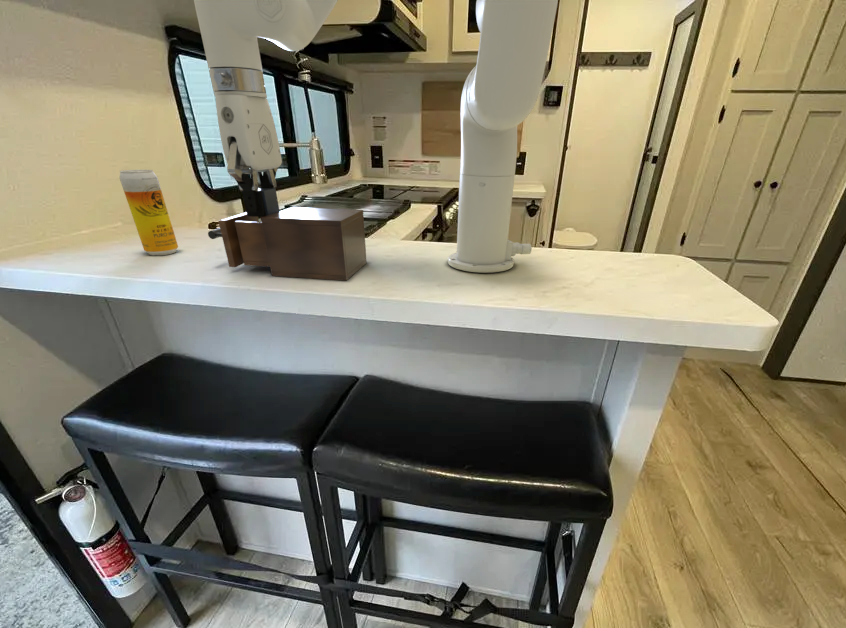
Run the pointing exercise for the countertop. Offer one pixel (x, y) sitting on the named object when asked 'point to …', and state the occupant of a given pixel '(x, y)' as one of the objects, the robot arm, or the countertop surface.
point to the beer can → (149, 211)
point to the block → (269, 200)
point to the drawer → (242, 240)
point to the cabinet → (315, 242)
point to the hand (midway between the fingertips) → (263, 212)
